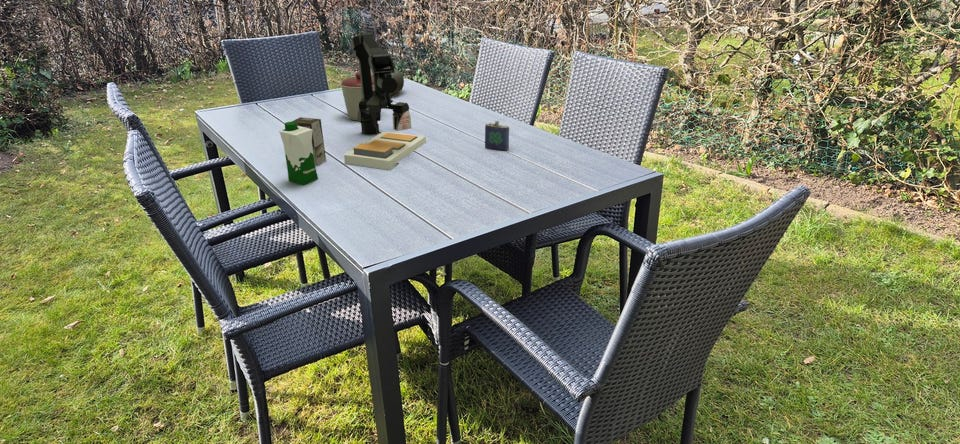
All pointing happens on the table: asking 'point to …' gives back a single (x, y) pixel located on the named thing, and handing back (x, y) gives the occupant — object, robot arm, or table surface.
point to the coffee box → (314, 137)
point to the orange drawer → (389, 144)
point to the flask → (496, 137)
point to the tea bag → (404, 121)
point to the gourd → (398, 78)
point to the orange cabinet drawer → (399, 137)
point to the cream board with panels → (389, 161)
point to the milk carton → (299, 153)
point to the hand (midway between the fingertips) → (385, 128)
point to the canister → (353, 94)
